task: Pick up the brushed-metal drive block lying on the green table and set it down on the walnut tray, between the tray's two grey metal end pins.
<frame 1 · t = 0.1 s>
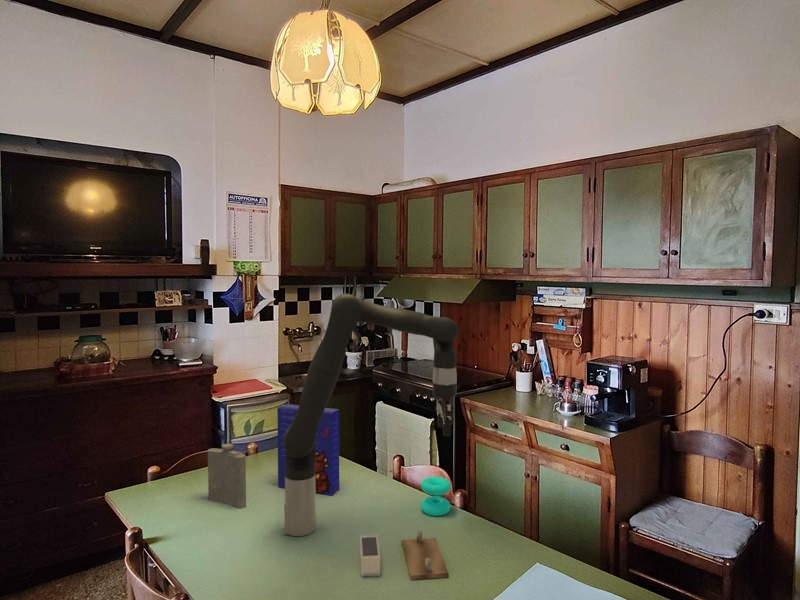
hand: (444, 431, 166), 29 cm above the table, tool pointing down, fingers open, 8 cm apart
donuts: (435, 510, 176), on the table
drive: (369, 564, 144), on the table
pin tray: (423, 559, 146), on the table
hip flask: (228, 502, 181), on the table
cereal box: (308, 489, 193), on the table
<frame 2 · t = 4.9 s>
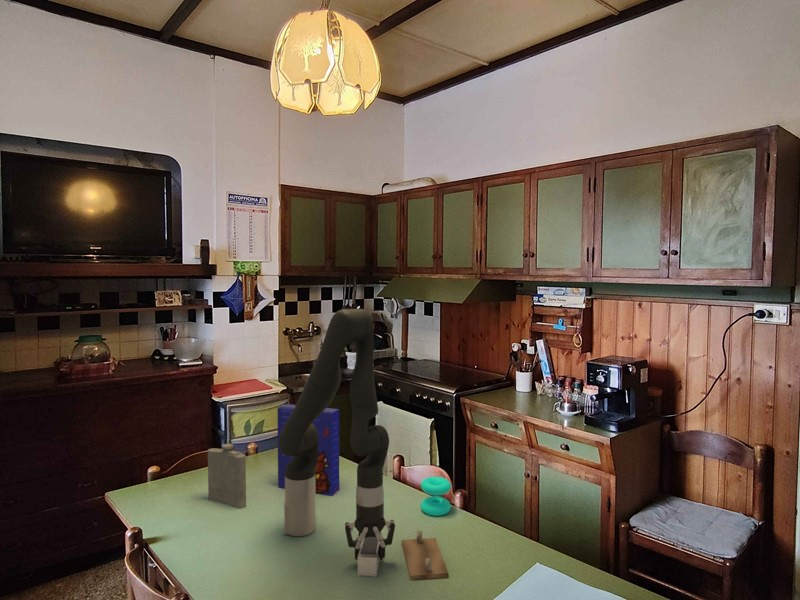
hand: (370, 559, 144), 1 cm above the table, tool pointing down, fingers closed on drive, 5 cm apart
drive: (369, 563, 144), on the table, touching gripper
everything else where it was.
when the fingers open (4 cm above the table, at t = 10.5 s): drive drops 1 cm, resting on pin tray.
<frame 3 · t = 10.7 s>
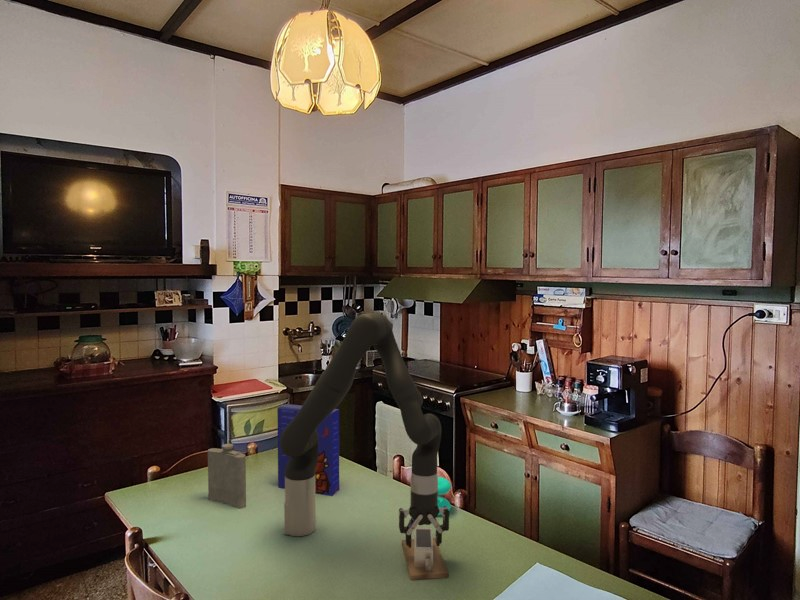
hand: (423, 545, 146), 4 cm above the table, tool pointing down, fingers open, 7 cm apart
drive: (423, 555, 146), point 1 cm above the table, touching pin tray
everything else where it was.
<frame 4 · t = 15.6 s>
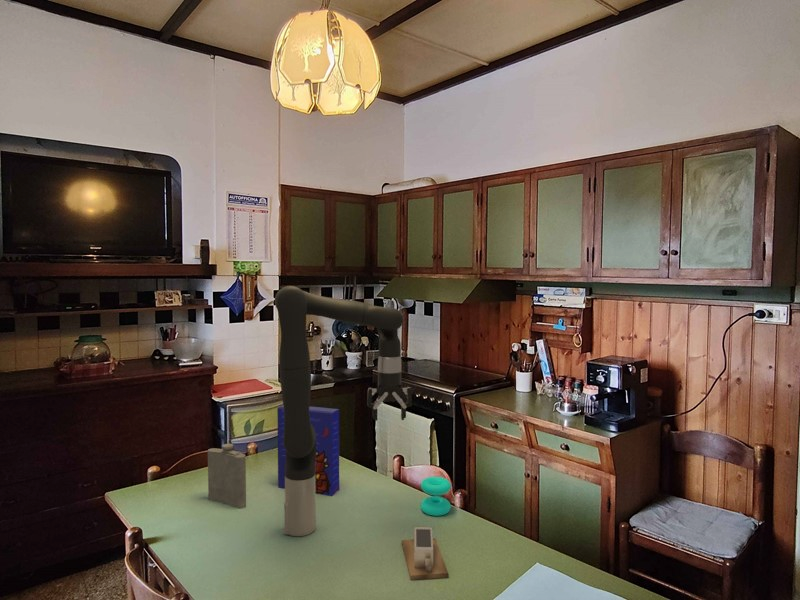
hand: (389, 419, 169), 32 cm above the table, tool pointing down, fingers open, 8 cm apart
nothing on the table moved.
at the end: drive 0.1 cm off-centre on the pin tray, point 1.2 cm above the pin tray's base; drive tilted 0°; the gripper is holding nothing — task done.
